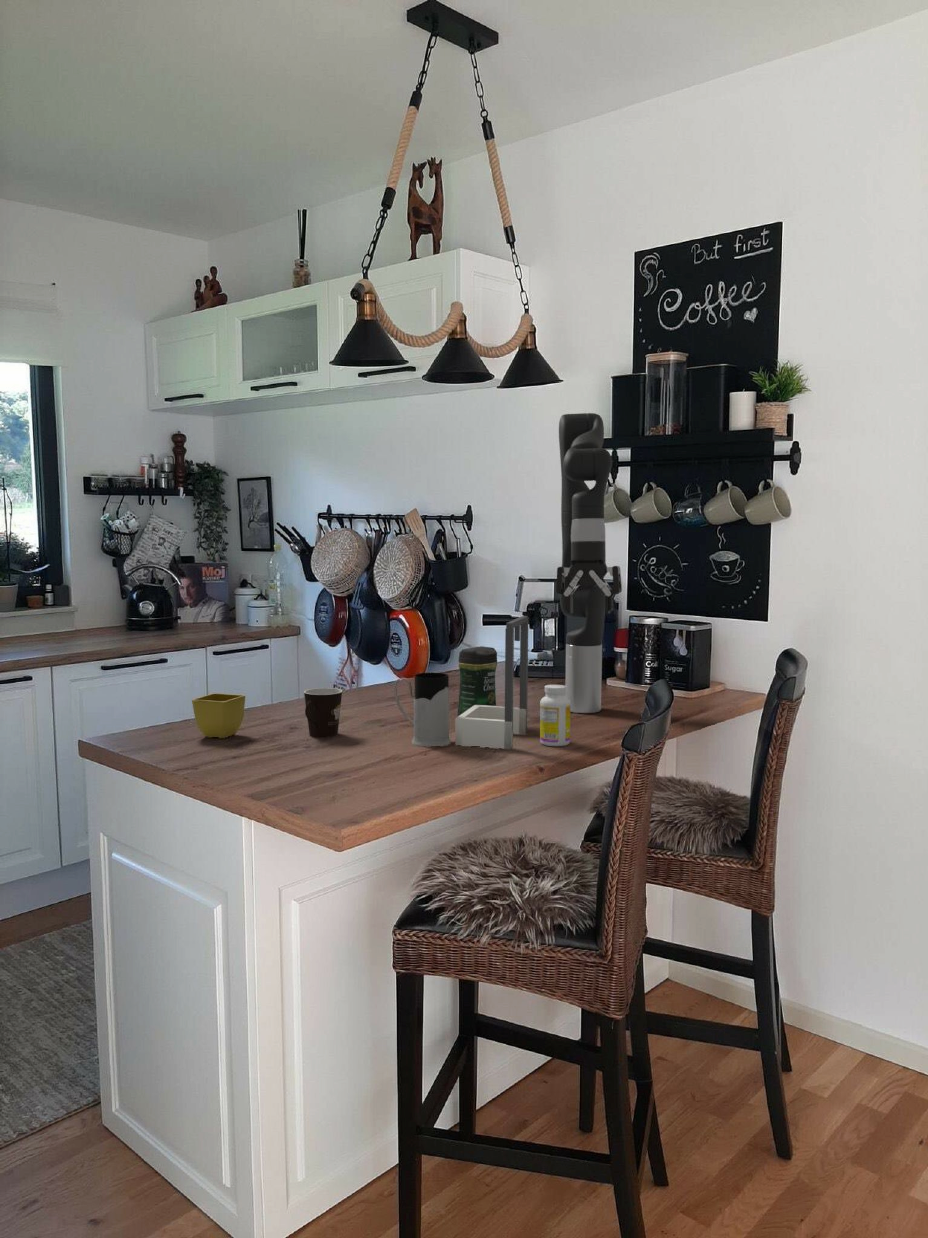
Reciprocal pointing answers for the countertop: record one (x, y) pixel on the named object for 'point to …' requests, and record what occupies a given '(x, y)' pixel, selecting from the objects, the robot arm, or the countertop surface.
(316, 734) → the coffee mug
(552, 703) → the supplement bottle
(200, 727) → the flower pot
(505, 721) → the bay
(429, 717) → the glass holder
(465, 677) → the coffee jar
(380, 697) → the countertop surface
